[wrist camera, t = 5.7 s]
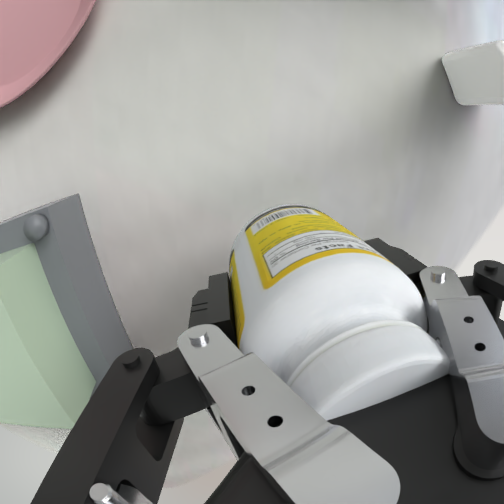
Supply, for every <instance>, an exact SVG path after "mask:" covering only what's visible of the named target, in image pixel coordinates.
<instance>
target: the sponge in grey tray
mask: <svg viewBox="0 0 504 504" xmlns="http://www.w3.org/2000/svg"><path fill="white" fill-rule="evenodd" d="M132 349H133V347H132V345H131V343H130V341H129V338H128V336H127V334H126V331H125V329H124V327H123V324H122V322H121V320H120V317H119V315H118V312H117V310H116V307H115V305H114V302H113V300H112V297H111V294H110V292H109V289H108V286H107V284H106V281H105V278H104V275H103V272H102V270H101V267H100V264H99V261H98V258H97V255H96V252H95V249H94V246H93V242H92V239H91V236H90V233H89V229H88V226H87V223H86V219H85V216H84V212H83V208H82V205H81V201H80V197H79V194H75V195H72V196H70V197H67V198H64V199H61V200H58V201H55V202H52V203H49V204H47V205H44V206H41V207H38V208H36V209H33V210H30V211H28V212H25V213H23V214H20V215H18V216H15V217H13V218H10V219H8V220H5V221H3V222H0V423H5V424H12V425H21V426H31V427H43V428H60V429H72V428H73V427H74V425H75V423H76V422H77V420H78V418H79V417H80V415H81V413H82V412H83V410H84V408H85V407H86V405H87V403H88V402H89V400H90V398H91V397H92V395H93V394H94V392H95V390H96V389H97V387H98V386H99V384H100V382H101V381H102V379H103V378H104V376H105V374H106V373H107V371H108V370H109V368H110V367H111V365H112V363H113V362H114V361H115V359H116V358H117V357H118V356H120V355H121V354H123V353H124V352H126V351H129V350H132Z"/></svg>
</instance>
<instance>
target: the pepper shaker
mask: <svg viewBox="0 0 504 504" xmlns="http://www.w3.org/2000/svg"><path fill="white" fill-rule="evenodd" d="M442 63H443V66H444V68H445V71H446V74H447V76H448V79H449V82H450V85H451V87H452V90H453V93H454V96H455V99H456V101H457V102H458V103H459V104H461V105H465V106H467V105H504V40H500V41H494V42H489V43H485V44H480V45H476V46H472V47H468V48H464V49H460V50H456V51H452V52H448V53H446V54H445V55H444V56H443V57H442Z"/></svg>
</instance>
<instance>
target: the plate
mask: <svg viewBox="0 0 504 504" xmlns="http://www.w3.org/2000/svg"><path fill="white" fill-rule="evenodd" d="M95 1H96V0H0V108H2V107H4V106H6V105H7V104H9V103H11V102H12V101H14V100H16V99H17V98H18V97H20V96H21V95H23V94H24V93H25V92H26V91H28V90H29V89H30V88H31V87H32V86H33V85H35V84H36V83H37V82H38V81H39V80H40V79H41V78H42V77H43V76H44V75H45V74H46V73H47V72H48V71H49V70H50V69H51V68H52V67H53V65H54V64H55V63H56V62H57V61H58V60H59V58H60V57H61V56H62V55H63V54H64V52H65V51H66V50H67V48H68V47H69V46H70V44H71V43H72V42H73V40H74V39H75V37H76V36H77V34H78V33H79V31H80V30H81V28H82V26H83V25H84V23H85V21H86V20H87V18H88V16H89V14H90V12H91V10H92V8H93V6H94V4H95Z"/></svg>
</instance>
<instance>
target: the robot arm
mask: <svg viewBox="0 0 504 504" xmlns="http://www.w3.org/2000/svg"><path fill="white" fill-rule="evenodd" d="M364 242H365V243H367V244H368V245H369V246H370V247H372V248H373V249H374V250H376V251H377V252H378V253H380V254H381V255H382V256H384V257H385V258H386V259H388V260H389V261H390V262H392V263H393V264H394V265H395V266H396V267H398V268H399V269H400V270H401V271H402V272H403V273H404V274H405V275H406V276H407V277H408V278H409V279H410V280H411V281H412V282H413V283H414V285H415V286H416V287H417V289H418V291H419V293H420V294H421V297H422V299H423V302H424V305H425V309H426V316H427V333H428V334H429V335H430V336H431V337H432V338H434V339H435V341H436V342H437V343H438V344H439V346H440V347H441V348H442V349H443V350H444V352H445V353H446V354H447V356H448V358H449V361H450V365H449V370H448V372H449V374H447V375H444V376H442V377H440V378H438V379H436V380H434V381H431V382H429V383H427V384H424V385H422V386H420V387H417V388H415V389H412V390H410V391H408V392H405V393H403V394H400V395H398V396H395V397H393V398H390V399H388V400H385V401H383V402H380V403H377V404H375V405H372V406H369V407H367V408H364V409H361V410H358V411H355V412H352V413H349V414H346V415H343V416H340V417H337V418H333V419H330V420H327V421H326V420H325V419H324V418H323V417H322V416H321V415H319V414H318V413H317V412H316V411H315V410H314V409H313V408H312V407H311V406H310V405H308V404H307V403H306V402H305V401H304V400H303V399H302V398H301V397H300V396H299V395H298V394H296V393H295V392H294V391H293V390H292V389H291V388H290V387H289V386H288V385H287V384H286V383H285V382H284V381H283V380H282V379H281V378H280V377H278V376H277V375H276V374H275V373H274V372H273V371H272V370H271V369H270V368H269V367H268V366H267V365H266V364H265V363H264V362H263V361H262V360H261V359H260V358H259V357H258V356H257V355H256V354H254V353H253V352H250V353H248V354H246V355H244V354H243V353H242V352H241V351H240V350H239V349H238V346H237V336H236V328H235V319H234V310H233V301H232V292H231V283H230V279H229V276H228V273H227V272H226V273H222V274H217V275H213V276H209V287H208V289H205V290H200V291H198V292H197V294H196V295H195V296H194V297H193V299H192V307H191V313H190V320H189V327H188V329H187V330H186V331H184V332H183V333H182V334H181V335H180V336H179V338H178V340H177V345H178V348H176V349H175V350H173V351H171V352H169V353H166V354H164V355H161V356H158V357H156V358H154V356H153V353H152V352H151V351H150V350H148V349H145V348H136V349H132V350H129V351H126V352H124V353H123V354H121V355H120V356H118V357H117V358H116V359H115V361H114V362H113V363H112V365H111V367H110V368H109V370H108V371H107V373H106V374H105V376H104V378H103V379H102V381H101V382H100V384H99V386H98V387H97V389H96V390H95V392H94V394H93V395H92V397H91V398H90V400H89V402H88V403H87V405H86V407H85V408H84V410H83V412H82V413H81V415H80V417H79V418H78V420H77V422H76V423H75V425H74V427H73V428H72V430H71V432H70V433H69V435H68V437H67V439H66V440H65V442H64V444H63V445H62V447H61V449H60V451H59V452H58V454H57V456H56V458H55V460H54V461H53V463H52V465H51V467H50V469H49V471H48V472H47V474H46V476H45V478H44V479H43V481H42V483H41V485H40V487H39V489H38V491H37V493H36V494H35V497H34V498H33V500H32V502H31V504H157V503H158V500H159V496H160V493H161V490H162V487H163V484H164V480H165V477H166V474H167V471H168V468H169V465H170V461H171V458H172V455H173V452H174V449H175V446H176V443H177V439H178V436H179V433H180V430H181V427H182V424H183V420H184V417H185V416H188V415H190V414H193V413H195V412H198V411H200V410H203V409H206V411H207V412H208V414H209V415H210V417H211V419H212V420H213V422H214V423H215V425H216V427H217V428H218V430H219V431H220V433H221V434H222V436H223V438H224V439H225V441H226V442H227V444H228V445H229V447H230V449H231V451H232V452H233V454H234V456H235V457H236V459H237V462H236V464H235V465H234V466H233V468H232V469H231V470H230V472H229V473H228V474H227V476H226V477H225V478H224V480H223V481H222V482H221V483H220V485H219V486H218V487H217V489H216V490H215V491H214V492H213V493H212V495H211V496H210V498H208V500H207V501H206V502H205V503H204V504H504V321H503V320H501V319H499V316H500V311H501V307H502V301H504V264H502V263H500V262H496V261H492V260H483V261H480V262H477V263H476V264H475V265H474V273H473V276H466V277H458V276H457V274H456V272H455V271H454V270H452V269H450V268H447V267H443V266H431V267H427V266H425V265H424V264H422V263H421V262H420V261H418V260H417V259H414V257H412V256H411V255H409V254H408V253H407V252H405V251H404V250H402V249H399V248H396V247H393V246H389V245H388V244H386V243H385V242H383V241H382V240H381V239H379V238H375V239H371V240H367V241H364Z"/></svg>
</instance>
